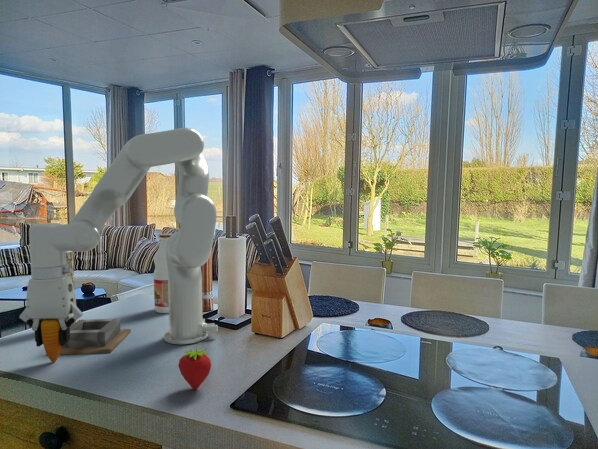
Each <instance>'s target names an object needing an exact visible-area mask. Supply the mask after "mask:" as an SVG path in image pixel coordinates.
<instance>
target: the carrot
mask: <svg viewBox="0 0 598 449" xmlns="http://www.w3.org/2000/svg"><path fill="white" fill-rule="evenodd" d="M60 330H61V325H60V323H59V320H58V319H44V320H43V321H42V322H41V334H42V341H43V344H42V345H43V347H44V350H45V351H44V352H45V353H46V356H47V357H48V359H49V361H50V362H51V363H55V362H57V360H58V358H59V356H60V355H61V354H60V351H61V348H62V346H61V345H60V336H59V331H60ZM59 354H60V355H59Z"/></svg>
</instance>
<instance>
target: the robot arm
mask: <svg viewBox="0 0 598 449" xmlns="http://www.w3.org/2000/svg"><path fill="white" fill-rule="evenodd" d="M204 148H205V142H204V138H203V136H202V135H201V134H200V132H198V131H197V130H196V129H194V128H191V127H180V128H175V129H169V130H164V131H163V130H162V131H158V132H157V131H156V132H151V133H142V134H137V135H135V136H134V137H132V138H131V139H129V140H128V141H127V142H126V143H125V144H124V146H123V147H122V148H121V150H120V151H119V152H118V154H117V155H116V157H115V158H114V160H112V162H111V163H110V165H109V166H108V168H107V169H106V171H105V172H104V174H103V175H102V176H101V178H100V179H99V181H97V183H96V184H95V186H94V187H93V189H92V191H91V193H90V194H89V195H88V197H87V198H86V200H85V201H84V202H83V204H82V206H81V207H80V208H79V210H77V212H76V214H75V215H74V217H73V218H72V220H71V221H70V223H68V224H67V223H66V224H61V223H59V222H43V223H42V222H41V223H40V222H38V223H34V224H31V226H30V227H29V229H28V237H29V238H28V239H29V259H30V272H31V273H30V274H31V278H30V279H29V280H28V282H27V283H28V284H27V287H26V288H27V289H26V296H25V297H26V299H25V305H26V306H25V308H24V310H23V311H22V312H21V313H20V314H19V317H18V318H19V319H21V321H23V322H25V323H26V324H27V325H28V326H29V327H30V328H31V330H32V331H33V332H34V341H35V344H36V345H35V346H36V347H38V348H39V347H41V346H42V345H43V341H42V334H41V322H42V321H43V320H44V319H58V320H59V323H60V325H61V330H60V331H59V336H60V345H61V346H64V345H65V344H66V343H68V342H69V340H70V326H71V325H72V324H73V323H74V322H75V321H76V322H77V321H78V319H80V318H81V317H82V316H83V315H84V314H83V312H82V311H81V309H80V308H79V307H78V306H77V299H76V294H75V292H76V290H75V291H74V289H75V285H74V286H73V282H72V279H71V276H67V275H68V273H72V268H69V267H67V264H66V251H73V252H80V253H82V252H84V253H85V252H89V251H92V250H94V249H95V248H96V247H97V246H98V244H99V243H100V239H101V234H100V232H101V231H102V229H103V228H104V227H105V225H106V224H107V222H108V220H110V218H111V217H112V216H113V214H114V213H115V212H116V211H117V210H118V209H120V208H121V207H122V206H124V205H125V204H126V203H127V202H128V201H129V199H130V198H131V197H132V195H133V193H134V192H135V191H136V189H137V188H138V186H139V185H140V184H141V182H142V180H143V179H144V178H145V176H146V174H147V173H148V172H149V170H150V169H151V168H152V167H159V166H167V165H170V164H175V165H176V167H177V169H178V170H177V171H178V183H177V184H178V186H177V190H176V191H177V192H176V198H175V203H174V209H173V214H174V218H175V220H176V221H177V222H178V223H179V224H180V225H179V230H177V231H175V232H174V233H171V234H172V235H171V236H170V237H169V239H168V241H167V243H166V250H165V251H166V260H167V269H168V296H169V313H168V322H169V323H168V326H169V327H168V328H169V329H168V331H167V332H165V333H164V335H163V340H164V342H166V343H168V344H171V345H190V344H196V343H199V342H202V341H204V340H206V338H208V336H209V332H214V333H215V332H218V331H219V330H218V324H215V322H212V323H208V322H206V318H203V276H202V266H204V265H205V264H206V263H207V262H208V260H209V259H210V257H211V254H212V251H213V250H212V249H213V244H214V243H213V242H214V238H215V232H216V224H217V208H216V205H215V203H214V201H213V200H212V199H211V198H210V197H208V194H209V193H208V191H209V181H210V170H209V166H208V163H207V160H206V159H205V157H204V156H203V150H204ZM72 313H73V314H74V316H73V317H72V318H69V314H72Z"/></svg>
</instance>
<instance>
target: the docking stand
mask: <svg viewBox="0 0 598 449" xmlns="http://www.w3.org/2000/svg"><path fill="white" fill-rule="evenodd" d="M130 333H131V328H123V329H122V328H121V318H96V319H93V318H92V319H79V320H76V323H74V324H73V325H71V326H70V340H69V342H68V343H66V344H65V345H64V346H62V348H61V351H60V354H59V356H60V355H83V354H85V355H87V354H110V353H112V352H113V351H114V350H115V349H116V348H117V347H119V345H120V344H121V343H122V342H123V341H124V340H125V339H126V338H127V337H128V336H129V334H130Z"/></svg>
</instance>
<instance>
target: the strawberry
mask: <svg viewBox="0 0 598 449" xmlns="http://www.w3.org/2000/svg"><path fill="white" fill-rule="evenodd" d="M196 343H197V344H196V348H195V349H196V350H193V349H190V350H187V351H184V353H185V354H183V356H181V357H180V359H179V361H178V365H177V366H178V369H179V371H180V375H181V376H182V377H183V379H184V380H185V381H186V382H187V383H188V385H189V386H190V388H192V389H193V390H197V389H199V388H200V387H201V385H202V383H204V382H205V381H206V378H207V377H208V375H209V374H210V373H211V368H212V361H211V359H210V358H209V356H207V355H209V354H208V352H205V350H206V349H207V348H203V349H198V345H199V342H196ZM197 350H198V351H197Z"/></svg>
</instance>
